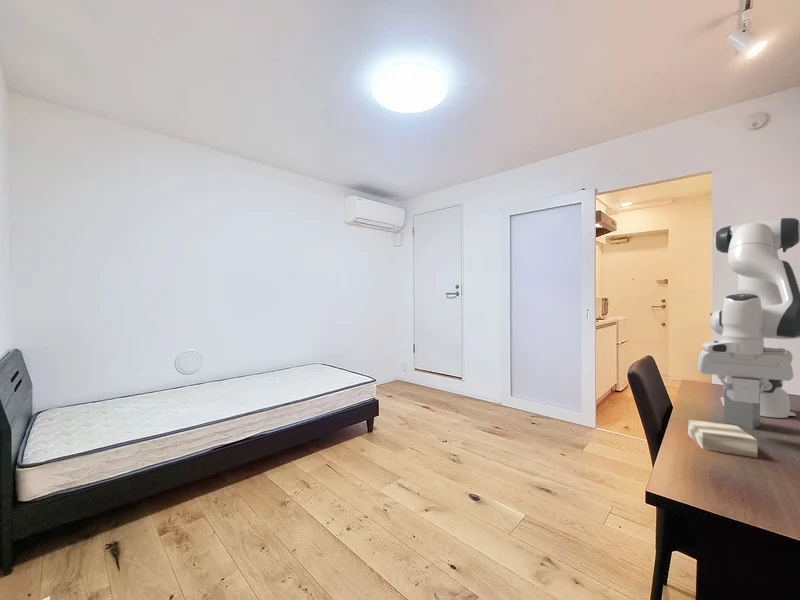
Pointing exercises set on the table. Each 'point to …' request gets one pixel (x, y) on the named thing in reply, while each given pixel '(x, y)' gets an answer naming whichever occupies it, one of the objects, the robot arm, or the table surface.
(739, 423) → the perfume bottle
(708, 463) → the table surface
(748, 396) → the grey block
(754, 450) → the cream square dish
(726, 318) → the robot arm
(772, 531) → the table surface
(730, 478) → the table surface
